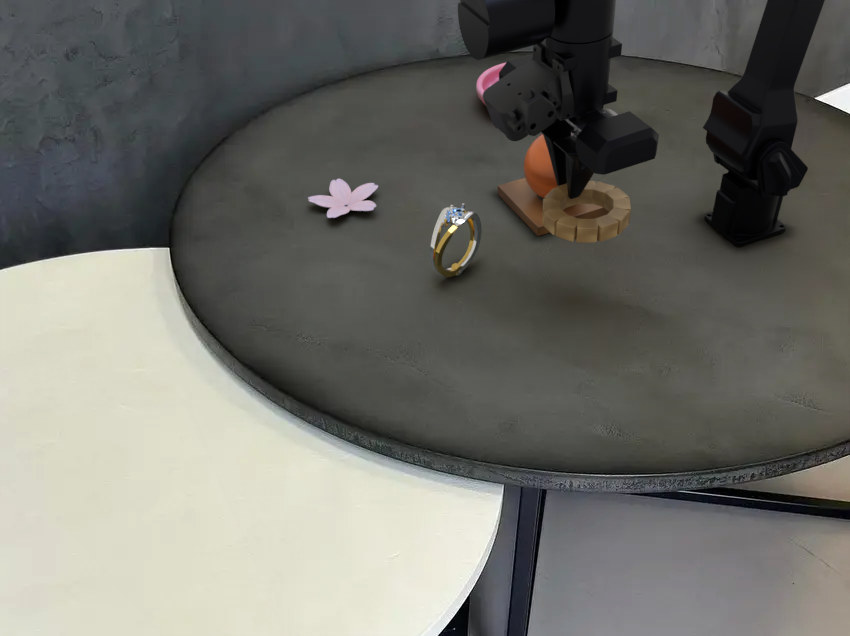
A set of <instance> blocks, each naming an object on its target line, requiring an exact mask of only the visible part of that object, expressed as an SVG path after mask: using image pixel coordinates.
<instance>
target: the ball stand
mask: <svg viewBox="0 0 850 636" xmlns="http://www.w3.org/2000/svg"><path fill="white" fill-rule="evenodd" d="M523 173H524V177H523V178H519V179H516V180H512V181H509V182H508V181H507V182H504V183H502V184H498V185H497V195H498V196H499V198H500V199H502V200H503V202H505V204H506V205H507V206H508V207H509V208H510V210H512V211H513V212H514V213H515V214H516V215H517V216H518V217H519V218H520V219H521V220H522V221H523V223H524V224H526V226H527V227H528V228H530V230H531V231H532V232H533V233H534V234H535V235H536V236H537V237H540V236H543V235H547V234H549V233H550V232H549V231H548V230H547V229H546V228H545V227H544V224H543V199H544V197H545V196H546V195H547V194H548V193H549V192H550V191H551V190H552V189H553V188H556V187H557V182H556V178H555V174H554V171H553V167H552V163H551V159H550V155H549V152H548V148H547V145H546V142H545V139H544V136H543V134H540V135H538V136H537V138H535V139H534V140H533V141H532V143H531V144H530V145H529V147H528V149H527V151H526V153H525V156H524V161H523ZM589 181H591V179H590V180H589ZM563 211H564V212H565V213H566V214H567V215H569V216H572V217H576V218H579V219H595V218H598V217H601V216H604V215H607V214H608V213H609V211H608V210H606V209H605V208H604V207H601V206H598V205H594V204H576V205H573V206H570V207H567V208H565V209H564V210H563ZM550 234H551V233H550Z"/></svg>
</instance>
